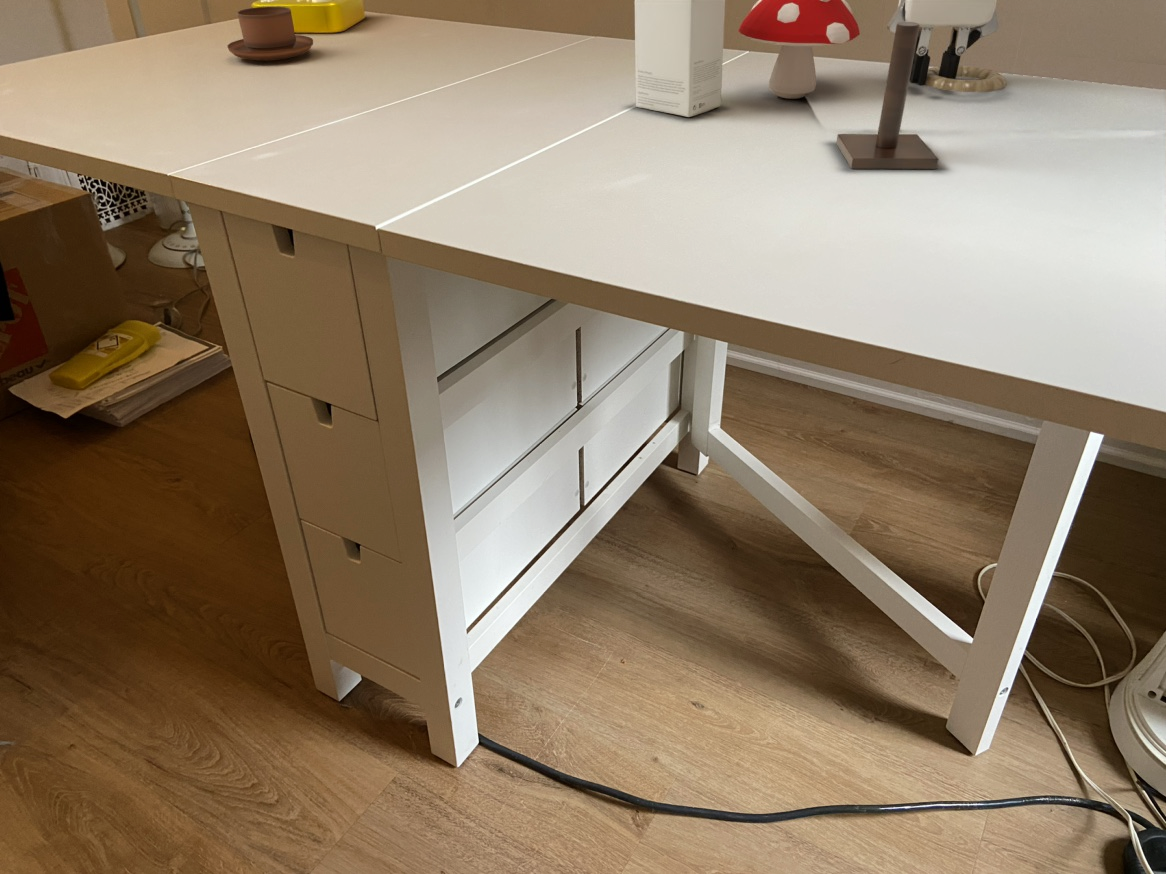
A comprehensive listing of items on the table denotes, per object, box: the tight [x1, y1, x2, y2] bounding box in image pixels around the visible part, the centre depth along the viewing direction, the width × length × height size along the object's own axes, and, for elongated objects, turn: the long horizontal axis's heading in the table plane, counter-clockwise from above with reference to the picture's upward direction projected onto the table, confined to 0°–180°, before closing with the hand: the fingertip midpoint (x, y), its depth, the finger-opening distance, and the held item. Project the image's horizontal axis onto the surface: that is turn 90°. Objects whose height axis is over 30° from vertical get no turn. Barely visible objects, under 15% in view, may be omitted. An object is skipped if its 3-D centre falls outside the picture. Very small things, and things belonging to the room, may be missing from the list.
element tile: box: [251, 0, 366, 34], centre depth 148 cm, size 15×15×5 cm
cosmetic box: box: [634, 0, 726, 118], centre depth 98 cm, size 8×7×16 cm
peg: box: [836, 21, 939, 170], centre depth 83 cm, size 8×8×12 cm
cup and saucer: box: [227, 7, 314, 62], centre depth 127 cm, size 12×12×6 cm
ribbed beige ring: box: [924, 65, 1007, 93], centre depth 106 cm, size 10×10×2 cm
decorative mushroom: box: [737, 0, 861, 100], centre depth 101 cm, size 14×14×15 cm
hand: (930, 87), depth 107 cm, fingers closed on ribbed beige ring, 2 cm apart
